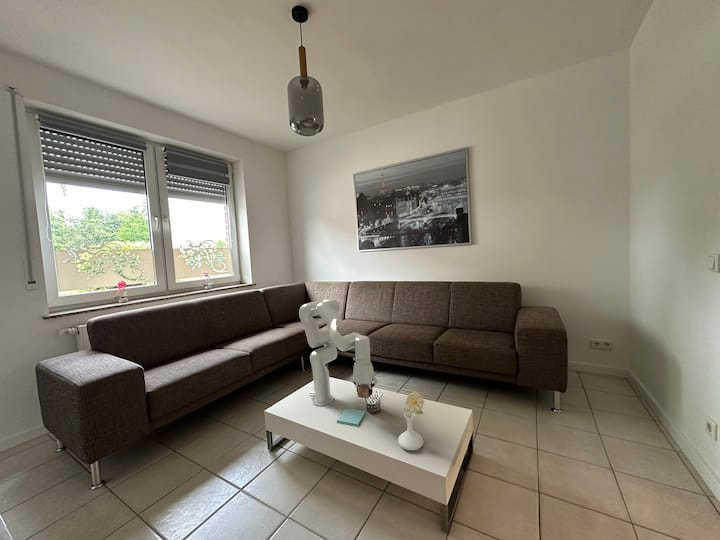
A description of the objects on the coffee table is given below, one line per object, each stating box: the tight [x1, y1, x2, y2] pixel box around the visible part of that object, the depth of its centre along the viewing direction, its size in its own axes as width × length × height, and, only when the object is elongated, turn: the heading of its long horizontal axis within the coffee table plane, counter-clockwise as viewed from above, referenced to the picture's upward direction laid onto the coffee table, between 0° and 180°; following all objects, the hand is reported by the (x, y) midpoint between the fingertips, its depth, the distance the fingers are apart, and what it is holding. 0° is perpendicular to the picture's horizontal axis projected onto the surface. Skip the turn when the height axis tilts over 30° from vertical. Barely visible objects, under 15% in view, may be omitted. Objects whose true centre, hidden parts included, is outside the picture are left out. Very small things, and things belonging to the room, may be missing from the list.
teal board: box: [336, 407, 367, 427], centre depth 151 cm, size 12×12×1 cm
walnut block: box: [356, 383, 370, 399], centre depth 146 cm, size 6×6×5 cm
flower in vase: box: [397, 391, 425, 451], centre depth 127 cm, size 13×11×25 cm
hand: (364, 394), depth 146 cm, fingers closed on walnut block, 5 cm apart
